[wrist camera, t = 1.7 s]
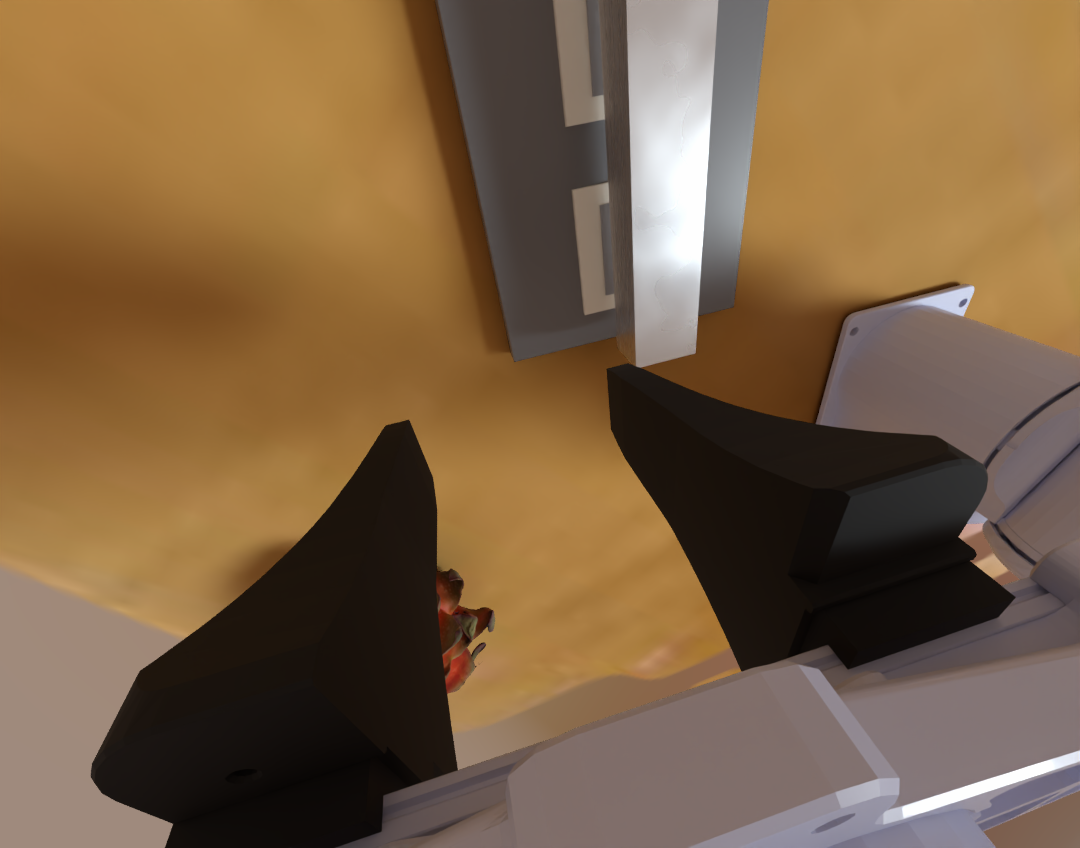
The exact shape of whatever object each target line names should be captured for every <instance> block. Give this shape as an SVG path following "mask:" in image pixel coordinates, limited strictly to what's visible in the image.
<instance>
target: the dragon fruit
mask: <svg viewBox="0 0 1080 848" xmlns="http://www.w3.org/2000/svg"><path fill="white" fill-rule="evenodd" d="M463 586H464V582H463V579H462V578H461V577H460V576H459V574H458V573H457V572H456V571H455V570H453V569H450V570H449V571H443V572H437V578H436V587H437V607H438V617H439V627H440V638H441V647H442V655H443V664H444V673H445V681H446V689H447V694H448V693H451V692H455V691H457V690H459V689H460V687H461V686H462V685H463V684H464V683H465V681H466V679H467V678H468V677H469V676H470V675H471V673H472V672H473V671H474V669H475V668H474V666H475V664H474V662H473V661H474V659H475V658H476V656H477V655H478V653H479V652H480V651H482V650H483V649H484V647H485V646H486V644H485V643H481V644H479V645H478V646H477V647H476V648H475V649H474V651H473V653H472V655H471V654H470V652H469V650H468V649H467V647H468V646H469V644H470V643H471V642H472V640H473V639H474V638H476V637H477V636H478V635H480V634H481V633H482V632H483V630H485V628H486V627H488V630H489V632H491V631H493V629H494V624H495V617H494V611H493V610H491V609H489V608H486V607H483V608H480V609H477V610H474V609H467V608H465V607H461V606H459V605H458V604H459V601H460V598H461V595H462V594H461V591H462V589H463ZM480 664H481V663H480ZM475 667H476V666H475Z"/></svg>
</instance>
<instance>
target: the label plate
mask: <svg viewBox="0 0 1080 848" xmlns="http://www.w3.org/2000/svg"><path fill="white" fill-rule="evenodd" d="M768 2H769V0H718V14H717V29H716V45H715V60H714V76H713V91H712V106H711V122H710V137H709V153H708V168H707V184H706V199H705V215H704V230H703V246H702V261H701V277H700V292H699V308H698V316H700V315H704V314H708V313H712V312H716V311H720V310H724V309H728V308H732V307H734V300H735V291H736V282H737V273H738V265H739V256H740V247H741V238H742V230H743V221H744V212H745V204H746V195H747V186H748V177H749V169H750V160H751V151H752V142H753V134H754V125H755V116H756V107H757V99H758V90H759V81H760V72H761V64H762V55H763V46H764V37H765V29H766V20H767V11H768ZM435 3H436V8H437V13H438V17H439V22H440V26H441V31H442V36H443V40H444V45H445V50H446V54H447V59H448V64H449V68H450V73H451V78H452V82H453V87H454V91H455V96H456V101H457V105H458V110H459V115H460V119H461V124H462V129H463V133H464V138H465V142H466V147H467V152H468V156H469V161H470V166H471V170H472V175H473V180H474V184H475V189H476V193H477V198H478V203H479V207H480V212H481V217H482V221H483V226H484V231H485V235H486V240H487V245H488V249H489V254H490V258H491V263H492V268H493V272H494V277H495V282H496V286H497V291H498V296H499V300H500V305H501V309H502V314H503V319H504V323H505V328H506V333H507V337H508V342H509V347H510V351H511V354H512V357H513V359H514V362H516V361H520V360H524V359H528V358H532V357H536V356H540V355H544V354H548V353H552V352H556V351H560V350H564V349H568V348H572V347H576V346H580V345H584V344H588V343H592V342H596V341H600V340H604V339H608V338H612V337H616V318H615V300H614V281H613V263H612V244H611V225H610V207H609V188H608V170H607V151H606V133H605V114H604V96H603V77H602V59H601V40H600V22H599V3H598V0H435Z"/></svg>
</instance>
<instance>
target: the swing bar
mask: <svg viewBox="0 0 1080 848" xmlns="http://www.w3.org/2000/svg"><path fill="white" fill-rule="evenodd" d="M598 3H599V22H600V40H601V59H602V77H603V96H604V114H605V133H606V151H607V170H608V188H609V207H610V225H611V244H612V263H613V281H614V300H615V318H616V337H617V348H618V349H619V350H620V352H621V353H622V354H623V355H624V356H625V357H626V358H627V359H628V360H629V361H630V363H631V364H632V365H634V366H637V367H639V368H641V367H645V366H649V365H652V364H656V363H660V362H664V361H668V360H672V359H676V358H679V357H683V356H687V355H691V354H695V353H696V339H697V323H698V308H699V292H700V277H701V261H702V246H703V230H704V215H705V199H706V184H707V168H708V153H709V137H710V122H711V106H712V91H713V76H714V60H715V45H716V29H717V14H718V0H598Z"/></svg>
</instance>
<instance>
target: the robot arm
mask: <svg viewBox="0 0 1080 848" xmlns="http://www.w3.org/2000/svg"><path fill="white" fill-rule="evenodd" d="M973 293H974V286H972V285H969V284H962V285H959V286H955V287H951V288H947V289H943V290H939V291H935V292H932V293H928V294H924V295H920V296H916V297H912V298H908V299H904V300H901V301H897V302H893V303H889V304H885V305H881V306H877V307H874V308H870V309H866V310H862V311H858V312H854V313H852V314H850V315H849V316H848V317H847V318H846V319H845V321H844V323H843V327H842V331H841V334H840V338H839V341H838V345H837V349H836V352H835V356H834V359H833V363H832V367H831V370H830V374H829V378H828V381H827V385H826V388H825V392H824V396H823V399H822V403H821V406H820V410H819V414H818V417H817V421H816V424H812V423H807V422H802V421H796V420H791V419H786V418H781V417H777V416H772V415H768V414H764V413H760V412H756V411H753V410H749V409H745V408H742V407H738V406H735V405H732V404H728V403H725V402H722V401H720V400H717V399H714V398H711V397H708V396H706V395H703V394H700V393H698V392H695V391H693V390H690V389H688V388H685V387H683V386H680V385H678V384H676V383H673V382H671V381H669V380H666V379H664V378H662V377H660V376H657V375H655V374H653V373H651V372H648V371H646V370H644V369H642V368H639V367H637V366H634V365H631V364H629V363H628V364H624V365H620V366H616V367H612V368H608V369H607V380H608V393H609V407H610V421H611V430H612V432H613V434H614V437H615V439H616V441H617V443H618V445H619V447H620V449H621V451H622V453H623V455H624V457H625V459H626V460H627V462H628V463H629V465H630V466H631V468H632V469H633V471H634V472H635V474H636V475H637V477H638V478H639V480H640V481H641V483H642V484H643V486H644V487H645V489H646V490H647V492H648V493H649V494H650V496H651V497H652V499H653V500H654V502H655V503H656V505H657V506H658V508H659V509H660V511H661V512H662V514H663V515H664V517H665V518H666V520H667V521H668V523H669V525H670V526H671V528H672V530H673V531H674V533H675V535H676V537H677V539H678V541H679V543H680V544H681V546H682V548H683V550H684V552H685V554H686V556H687V558H688V560H689V561H690V563H691V565H692V567H693V569H694V571H695V573H696V575H697V577H698V579H699V581H700V583H701V585H702V587H703V589H704V591H705V593H706V595H707V597H708V600H709V602H710V604H711V606H712V608H713V610H714V612H715V614H716V616H717V619H718V621H719V623H720V625H721V627H722V629H723V631H724V633H725V635H726V638H727V640H728V642H729V644H730V647H731V649H732V651H733V653H734V656H735V658H736V660H737V662H738V665H739V667H740V669H741V671H742V672H739V673H736V674H733V675H731V676H728V677H725V678H722V679H719V680H716V681H713V682H710V683H707V684H704V685H701V686H698V687H695V688H692V689H689V690H686V691H683V692H680V693H678V694H675V695H672V696H669V697H666V698H663V699H660V700H657V701H654V702H651V703H648V704H645V705H642V706H639V707H636V708H633V709H630V710H627V711H624V712H621V713H618V714H616V715H612V716H610V717H607V718H604V719H601V720H598V721H595V722H592V723H589V724H586V725H583V726H580V727H577V728H574V729H572V730H570V731H568V732H565V733H563V734H561V735H559V736H557V737H554V738H552V739H549V740H545V741H543V742H540V743H537V744H534V745H531V746H528V747H525V748H522V749H519V750H516V751H513V752H510V753H507V754H504V755H502V756H499V757H495V758H493V759H490V760H487V761H484V762H481V763H478V764H475V765H472V766H469V767H466V768H463V769H460V770H458V768H457V762H456V755H455V748H454V741H453V734H452V727H451V720H450V712H449V705H448V697H447V689H446V681H445V673H444V664H443V655H442V647H441V638H440V627H439V617H438V607H437V587H436V578H437V505H436V497H435V489H434V482H433V477H432V474H431V472H430V469H429V467H428V464H427V462H426V460H425V457H424V455H423V452H422V450H421V447H420V445H419V443H418V440H417V438H416V435H415V433H414V430H413V428H412V426H411V423H410V421H409V420H406V421H402V422H398V423H394V424H390V425H386V426H385V427H384V429H383V430H382V432H381V433H380V435H379V436H378V438H377V440H376V441H375V443H374V444H373V446H372V447H371V449H370V451H369V452H368V454H367V455H366V457H365V458H364V460H363V461H362V463H361V464H360V466H359V467H358V469H357V470H356V472H355V473H354V475H353V476H352V478H351V479H350V480H349V482H348V483H347V484H346V486H345V487H344V488H343V490H342V491H341V492H340V494H339V495H338V496H337V498H336V499H335V500H334V502H333V503H332V504H331V506H330V507H329V508H328V509H327V510H326V512H325V513H324V514H323V515H322V516H321V518H320V519H319V520H318V521H317V522H316V523H315V524H314V526H313V527H312V528H311V529H310V530H309V531H308V532H307V533H306V534H305V535H304V536H303V538H302V539H301V540H300V541H299V542H298V543H297V544H296V545H295V546H294V547H293V548H292V549H291V550H290V551H289V552H288V553H287V554H285V555H284V556H283V557H282V558H281V559H280V560H279V561H278V562H277V563H276V564H275V565H274V566H273V567H272V568H271V569H270V570H269V571H268V572H267V573H266V574H265V575H263V576H262V577H261V578H260V579H259V580H258V581H257V582H256V583H254V584H253V585H252V586H251V587H250V588H249V589H247V590H246V591H245V592H244V593H243V594H242V595H240V596H239V597H238V598H237V599H236V600H234V601H233V602H232V603H231V604H229V605H228V606H227V607H226V608H225V609H223V610H222V611H221V612H220V613H218V614H217V615H216V616H215V617H213V618H212V619H211V620H209V621H208V622H207V623H206V624H204V625H203V626H202V627H200V628H199V629H198V630H196V631H195V632H193V633H192V634H191V635H189V636H188V637H187V638H185V639H184V640H182V641H181V642H180V643H178V644H177V645H176V646H174V647H173V648H171V649H170V650H169V651H167V652H166V653H165V654H164V655H162V656H160V657H159V658H158V659H157V660H155V661H154V662H152V663H151V664H149V665H148V666H146V667H145V668H143V669H142V670H141V671H140V672H139V674H138V675H137V677H136V679H135V681H134V683H133V685H132V687H131V689H130V691H129V693H128V695H127V697H126V699H125V701H124V703H123V705H122V706H121V708H120V710H119V712H118V714H117V716H116V718H115V720H114V722H113V724H112V726H111V728H110V730H109V732H108V734H107V736H106V738H105V740H104V742H103V744H102V745H101V747H100V749H99V751H98V753H97V755H96V757H95V759H94V761H93V763H92V769H91V778H92V780H93V781H94V783H95V784H96V786H97V787H98V788H99V790H100V791H101V793H102V794H104V795H106V796H108V797H110V798H111V799H113V800H115V801H117V802H119V803H122V804H124V805H127V806H129V807H132V808H135V809H137V810H140V811H142V812H145V813H147V814H150V815H152V816H155V817H158V818H160V819H163V820H165V821H168V822H170V823H173V826H172V829H171V832H170V835H169V838H168V841H167V844H166V847H165V848H996V847H995V846H994V845H993V843H992V842H991V841H990V840H989V838H987V836H986V835H985V833H984V832H983V831H985V830H988V829H990V828H992V827H995V826H997V825H999V824H1002V823H1004V822H1006V821H1009V820H1011V819H1013V818H1016V817H1018V816H1020V815H1023V814H1025V813H1028V812H1030V811H1032V810H1035V809H1037V808H1039V807H1042V806H1044V805H1046V804H1049V803H1051V802H1053V801H1056V800H1058V799H1061V798H1063V797H1065V796H1068V795H1070V794H1072V793H1074V792H1077V791H1079V790H1080V357H1079V356H1076V355H1073V354H1070V353H1067V352H1065V351H1062V350H1059V349H1056V348H1053V347H1050V346H1047V345H1044V344H1041V343H1038V342H1036V341H1033V340H1030V339H1027V338H1024V337H1021V336H1018V335H1015V334H1012V333H1009V332H1007V331H1004V330H1001V329H998V328H995V327H992V326H989V325H986V324H983V323H980V322H978V321H975V320H972V319H969V318H966V317H963V315H964V313H965V311H966V309H967V306H968V304H969V302H970V300H971V297H972V295H973ZM979 523H984V524H983V533H984V536H985V538H986V540H987V541H988V543H989V545H990V548H991V550H992V551H993V553H994V554H995V556H996V557H997V558H998V559H999V561H1000V562H1001V563H1002V564H1003V565H1004V566H1005V567H1006V568H1007V569H1008V570H1009V571H1011V572H1012V573H1013V574H1014V575H1015V576H1017V577H1018V578H1019V579H1020V580H1017V581H1014V582H1011V583H1008V584H1005V585H1002V586H1001V585H1000V584H998V583H997V582H996V581H995V580H993V579H992V578H991V577H990V576H988V575H987V574H986V573H984V572H983V571H982V570H981V569H979V568H978V567H977V566H976V565H974V564H973V563H972V562H970V560H973V559H974V558H975V557H976V555H977V554H976V552H975V550H974V549H973V548H972V547H970V546H969V545H967V544H966V543H965V542H964V541H962V540H961V539H960V538H958V537H959V535H960V533H961V532H962V530H963V529H964V527H965V526H966V524H979Z"/></svg>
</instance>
